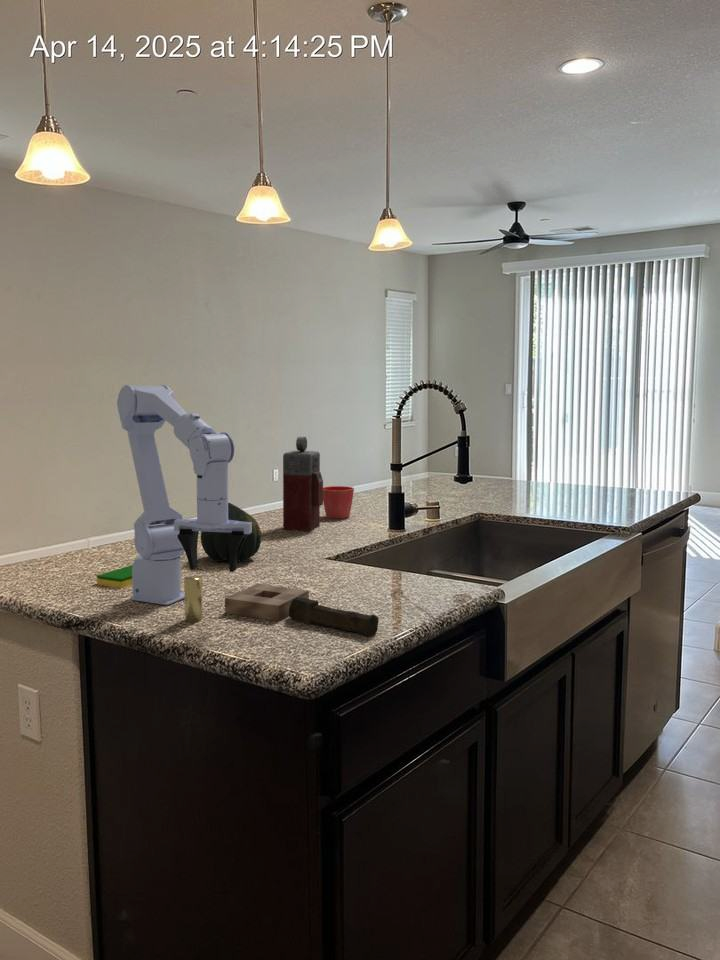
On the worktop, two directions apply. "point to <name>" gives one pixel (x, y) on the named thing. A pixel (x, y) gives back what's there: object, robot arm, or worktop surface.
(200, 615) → the brass peg
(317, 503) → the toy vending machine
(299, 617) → the hand tool
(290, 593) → the socket block
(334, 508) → the flower pot
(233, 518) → the squash
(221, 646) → the worktop surface
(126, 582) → the dish sponge
